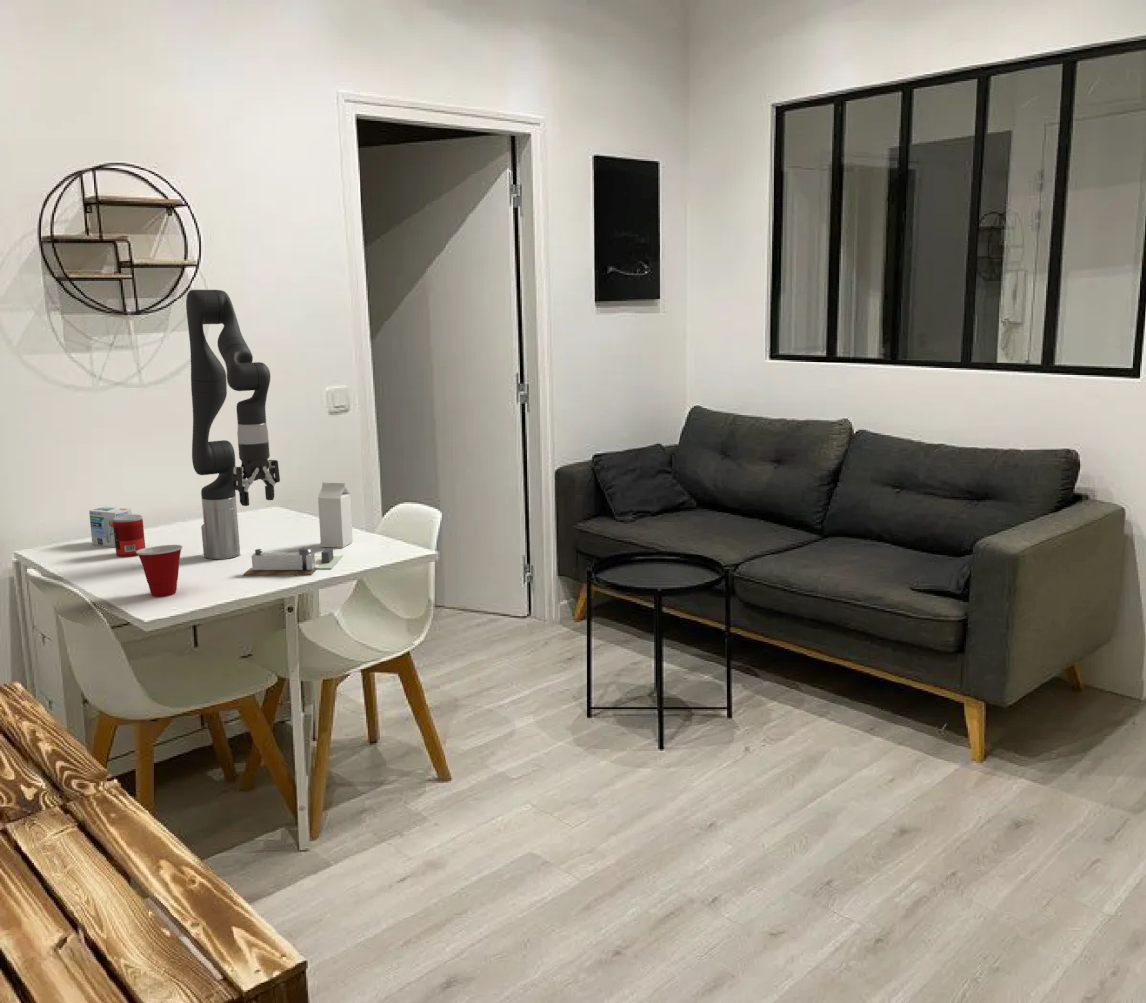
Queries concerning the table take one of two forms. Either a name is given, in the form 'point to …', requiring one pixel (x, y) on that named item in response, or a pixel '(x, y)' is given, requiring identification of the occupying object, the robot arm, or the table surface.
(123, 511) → the light bulb box
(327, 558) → the block
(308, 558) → the lock bar
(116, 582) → the table surface
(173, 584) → the plastic cup
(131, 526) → the canned food
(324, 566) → the door panel
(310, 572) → the strip
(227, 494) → the robot arm
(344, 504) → the milk carton
